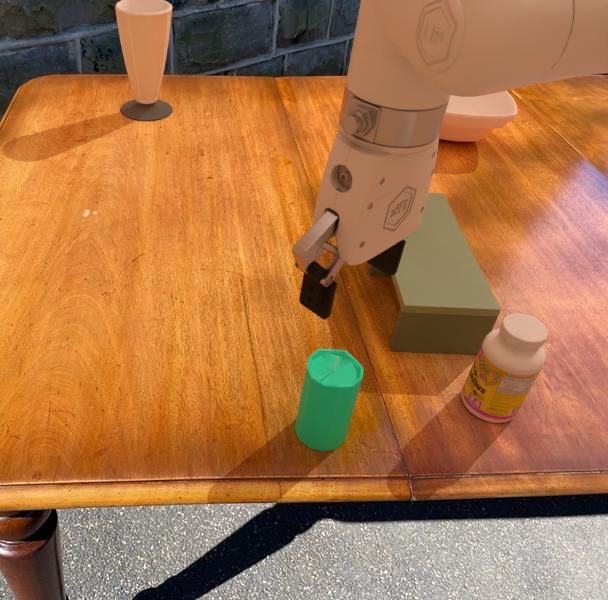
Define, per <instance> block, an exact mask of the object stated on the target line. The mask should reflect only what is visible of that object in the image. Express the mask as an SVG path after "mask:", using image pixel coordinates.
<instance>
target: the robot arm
mask: <svg viewBox="0 0 608 600" xmlns="http://www.w3.org/2000/svg"><path fill="white" fill-rule="evenodd" d="M358 9H359V10H358V13H357V14H358V15H357V20H356V24H355V25H356V26H355V31H354V34H353V35H354V36H353V41H352V45H351V46H352V47H351V51H350V57H349V63H348V67H347V73H346V79H345V83H344V84H345V85H344V88H343V89H344V91H343V95H342V100H341V105H340V109H339V116H338V120H337V129H338V132H337V133H336V135H335V137H334V141H333V143H332V146H331V148H330V151H329V154H328V158H327V161H326V164H325V167H324V171H323V174H322V179H321V181H320V184H319V189H318V194H317V198H316V201H315V205H314V206H315V207H314V212H313V217H312V225H311V227H310V228H309V229H308V230H307V231H306V232H305V233H304V234H303V235H302V236H300V238H299V239H298V240H297V242H295V243H294V245H292V248H291V254H292V257H293V259H294V262H295V263H294V267H296V268H297V269H298V270H300V271H301V272H302V273H303V275H302V280H301V287H300V292H299V298H298V301H299V304H300V305H302V306H303V307H304V308H306V309H307V310H308V311H310V312H312V313H313V314H314V315H316V316H317V317H318V318H320V319H322V320H325V321H326V320H327V319H328V318H330V317H331V314H332V309H333V306H334V302H335V301H334V300H335V297H336V292H337V287H338V282H337V281H336V280H335V279H336V277H337V275H338V274H339V272H340V271H341V269H342V268H343V266H344V264H345V263H346V264H347V265H349V266H351V267H353V266H359V265H362V264H364V263H366V262H367V264H368V265H370V264H371V265H372V266H374V267H376V268H377V269H379V270H381V271H383V272H384V273H386V274H388V275H390V276H389V277H391V276H393V275H394V274H396V273H397V270H398V267H399V263H400V260H401V257H402V253H403V250H404V247H405V243H406V241H405V240H403V239H406V238H407V237H408V236H409V235H410V234H411V233H413V232H414V231H415V230H416V229H417V227H418V226H419V224H420V221H421V218H422V215H423V212H424V208H425V204H426V201H427V197H428V193H430V190H431V189H430V188H431V186H432V185H431V184H432V181H433V176H434V171H435V167H436V161H437V156H438V155H437V154H438V152H439V151H438V150H439V142H440V139H439V133H440V129H441V126H442V123H443V119H444V116H445V113H446V109H447V106H448V103H449V99H450V96H451V95H454V96H460V97H475V96H482V95H488V94H493V93H497V92H502V91H507V92H509V91H513V90H518V89H521V88H526V87H529V86H533V85H534V86H535V85H539V84H545V83H550V82H556V81H561V80H567V79H574V78H581V77H586V76H595V75H602V74H608V0H360V3H359V8H358ZM334 237H335V241H336V246H337V247H336V246H335V245H334V244H332V243H330V242H329V241H330V240H331V239H333V238H334ZM325 250H326V251H327V252H328V253H330V254H332V255H334V256H333V258H332V260H331V261H330V263H329V264H328V266H327V267H324V266H322V264H320V263H319V262H318V261H319V260H320V258H321V256H322V255H323V253H324V252H325Z"/></svg>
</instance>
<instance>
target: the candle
mask: <svg viewBox="0 0 608 600" xmlns="http://www.w3.org/2000/svg"><path fill="white" fill-rule="evenodd" d="M364 370H365V369H364V367H363V365H362V364H361V363H360V362H359V361H358V360H357V359H356V358H355V357H354V356H353V355H352V354H351V353H349V352H348V351H347V350H346V349H345V350H344V349H334V348H317V349H316V350H315V351H314V352H312V353H311V354H310V355H309V356H308V359H307V364H306V369H305V374H304V379H303V384H302V388H301V394H300V398H299V404H298V409H297V413H296V414H297V415H296V419H295V424H294V431H295V434H296V436H297V439H298V440H299V441H300V442H302V443H303V444H304V445H305V446H306V447H308V448H309V449H312V450H315V451H320V452H329V451H334V450H337V449H338V448H340V447H341V446H342V444H344V442H346V438H347V434H348V431H349V428H350V423H351V420H352V417H353V414H354V410H355V406H356V403H357V400H358V395H359V392H360V389H361V385H362V382H363V377H364Z"/></svg>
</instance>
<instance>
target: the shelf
mask: <svg viewBox="0 0 608 600" xmlns="http://www.w3.org/2000/svg"><path fill="white" fill-rule="evenodd" d="M403 240H405V241H406V243H405V247H404V250H403V253H402V257H401V260H400V263H399V267H398V270H397V273H396V274H394V275H393V276H390V275H388V274H386V273H384V272H383V271H381V270H379V269H377V268H376V267H374V266H372V265H371V264H369V266H368V274H369V275H370V276H387V277H391V280H392V283H393V286H394V290H395V293H396V297H397V299H398V302H399V306H400V307H399V310H398V314H397V317H396V320H395V324H394V327H393V330H392V334H391V337H390V340H389V343H388V347H389V351H390V352H402V353H403V352H405V353H406V352H407V353H423V354H424V353H426V354H447V355H469V356H470V355H473V356H477V354H478V352H479V350H480V348H481V345H482V343H483V341H484V339H485V337H486V336H487V334H489V333H490V332H491V331H493V330H494V327H495V324H496V322H497V321H498V318H499V315H500V313H501V311H502V308H501V307H500V304H499V303H498V301H497V299H496V296H495V295H494V293H493V291H492V288H491V287H490V285H489V284H490V283H488V280H487V279H486V276H485V275H484V273H483V270H482V269H481V266H480V264H479V262H478V260H477V258H476V255H475V254H474V252H473V250H472V248H471V246H470V244H469V242H468V241H467V238H466V236H465V234H464V232H463V230H462V229H461V226H460V224H459V222H458V220H457V218H456V216H455V214H454V212H453V210H452V207H451V206H450V203H449V202H448V199H447V198H446V196H445V194H444V193H441V192H439V193H438V192H429V193H428V197H427V201H426V204H425V208H424V212H423V215H422V218H421V221H420V224H419V226H418V227H417V229H416V230H415V231H414V232H413V233H411V234H410V235H409V236H408V237H407V238H406V239H403Z"/></svg>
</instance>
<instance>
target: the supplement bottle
mask: <svg viewBox="0 0 608 600" xmlns="http://www.w3.org/2000/svg"><path fill="white" fill-rule="evenodd" d="M548 336H549V331H548V328H547V326H546V325H545V324H544V323H543V322H542V321H540V319H538V318H536V317H534V316H532V315H529V314H526V313H522V312H521V313H519V312H514V313H509V314H507V315H505V317H504V318H502V321H501V323H500V325H499V328H496V329H495V328H494V329H492V331H491V332H490V333H489V334H487V336H486V337H485V339H484V341H483V343H482V345H481V348H480V350H479V352H478V354H477V355H476V357H475V359H474V361H473V364H472V366H471V367H470V370H469V372H468V374H467V377H466V379H465V381H464V383H463V386H462V389H461V392H460V393H461V394H460V396H461V400H462V403H463V405H464V406H465V408H466V410H468V411H469V413H471V414H472V415H474V416H475V417H477V418H478V419H481V420H482V421H485V422H488V423H495V424H497V423H498V424H501V423H507V422H509V421H511V420H513V419H514V418H515V417H516V416H517V414H518V413H519V411H520V409H521V407H522V406H523V404H524V402H525V400H526V399H527V397H528V395H529V393H530V392H531V389H532V387H533V385H534V383H535V382H536V380H537V378H538V377H539V374H540V373H541V371H542V369H543V367H544V365H545V363H546V359H547V354H546V350H545V347H544V345H545V343H546V341H547V338H548Z"/></svg>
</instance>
